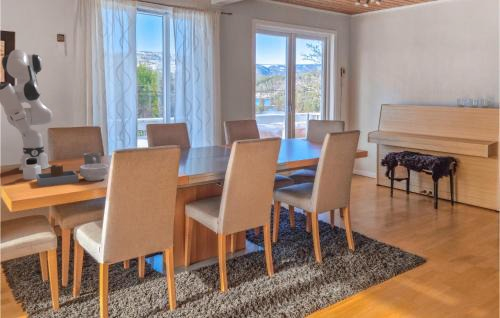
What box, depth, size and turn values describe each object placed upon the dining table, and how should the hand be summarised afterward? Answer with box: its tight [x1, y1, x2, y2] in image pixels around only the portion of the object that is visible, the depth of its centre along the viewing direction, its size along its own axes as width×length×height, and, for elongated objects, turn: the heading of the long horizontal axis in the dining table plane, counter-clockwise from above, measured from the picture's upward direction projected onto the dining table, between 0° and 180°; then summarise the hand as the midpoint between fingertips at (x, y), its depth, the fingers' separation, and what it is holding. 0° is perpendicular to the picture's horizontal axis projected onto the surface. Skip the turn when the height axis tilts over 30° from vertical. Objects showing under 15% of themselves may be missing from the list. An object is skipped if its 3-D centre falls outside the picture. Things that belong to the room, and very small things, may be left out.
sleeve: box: [49, 164, 64, 178], centre depth 234 cm, size 6×6×9 cm
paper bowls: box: [79, 163, 109, 182], centre depth 241 cm, size 15×15×8 cm
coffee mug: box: [83, 152, 102, 165], centre depth 268 cm, size 13×10×10 cm
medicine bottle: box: [22, 158, 42, 180], centre depth 243 cm, size 7×7×12 cm
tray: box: [36, 169, 80, 188], centre depth 234 cm, size 15×20×8 cm
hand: (27, 137), depth 228 cm, fingers open, 8 cm apart
